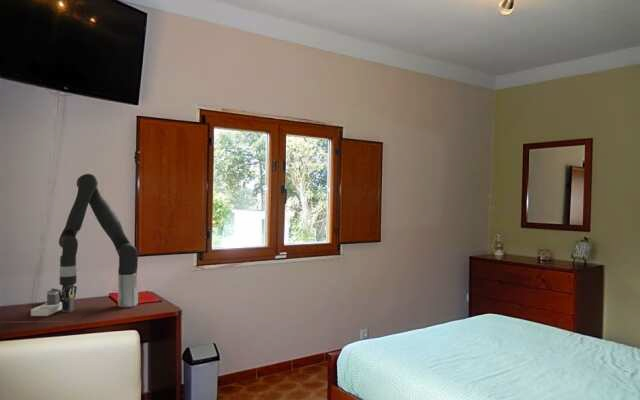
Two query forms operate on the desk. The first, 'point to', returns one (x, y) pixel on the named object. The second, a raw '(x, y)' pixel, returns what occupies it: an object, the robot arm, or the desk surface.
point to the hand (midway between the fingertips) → (68, 308)
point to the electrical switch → (55, 290)
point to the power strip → (46, 309)
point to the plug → (69, 303)
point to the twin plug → (53, 298)
